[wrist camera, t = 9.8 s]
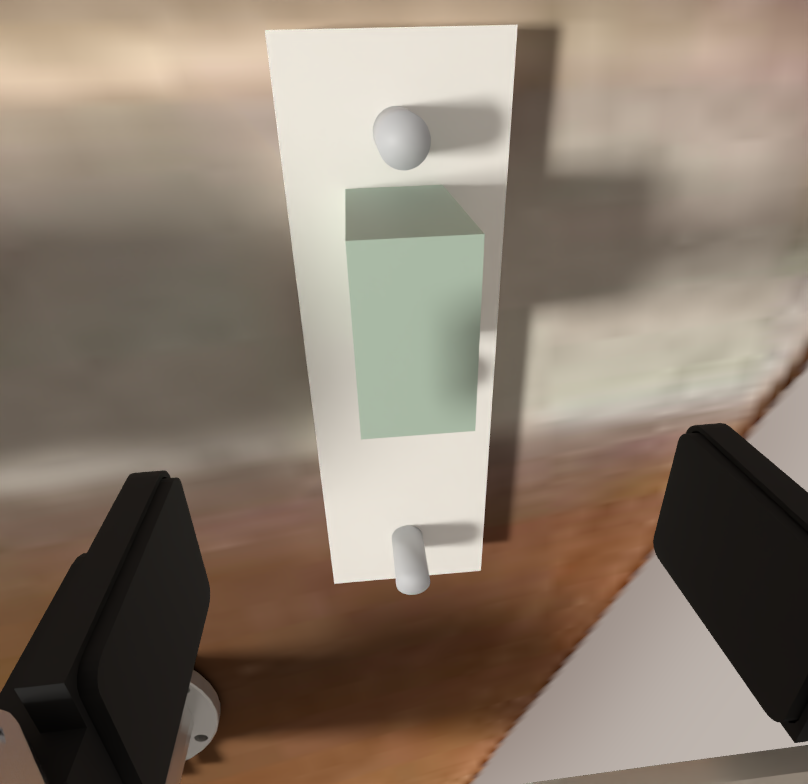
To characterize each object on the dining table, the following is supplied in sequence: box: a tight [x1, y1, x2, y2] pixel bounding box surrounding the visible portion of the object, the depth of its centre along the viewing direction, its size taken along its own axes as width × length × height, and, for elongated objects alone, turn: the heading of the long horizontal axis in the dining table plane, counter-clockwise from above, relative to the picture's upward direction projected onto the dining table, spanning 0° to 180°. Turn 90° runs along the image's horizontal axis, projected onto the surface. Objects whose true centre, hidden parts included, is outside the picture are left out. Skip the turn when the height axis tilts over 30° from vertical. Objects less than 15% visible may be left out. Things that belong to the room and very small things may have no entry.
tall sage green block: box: [345, 185, 485, 439], centre depth 18 cm, size 6×4×7 cm, turn 2°
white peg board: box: [265, 25, 518, 595], centre depth 23 cm, size 25×8×5 cm, turn 1°
